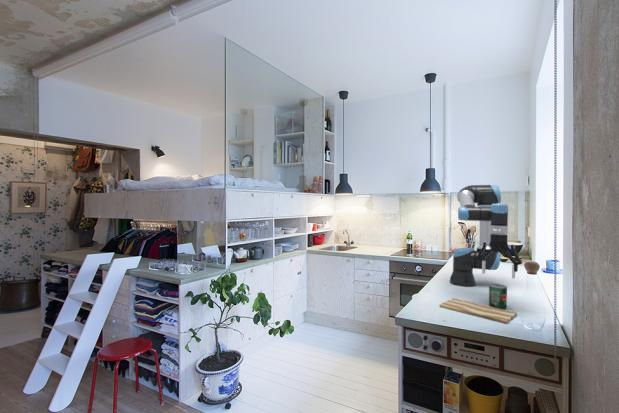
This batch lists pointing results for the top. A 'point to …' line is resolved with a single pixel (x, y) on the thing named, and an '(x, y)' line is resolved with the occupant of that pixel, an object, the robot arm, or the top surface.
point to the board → (479, 310)
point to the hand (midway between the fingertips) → (498, 275)
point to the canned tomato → (498, 296)
